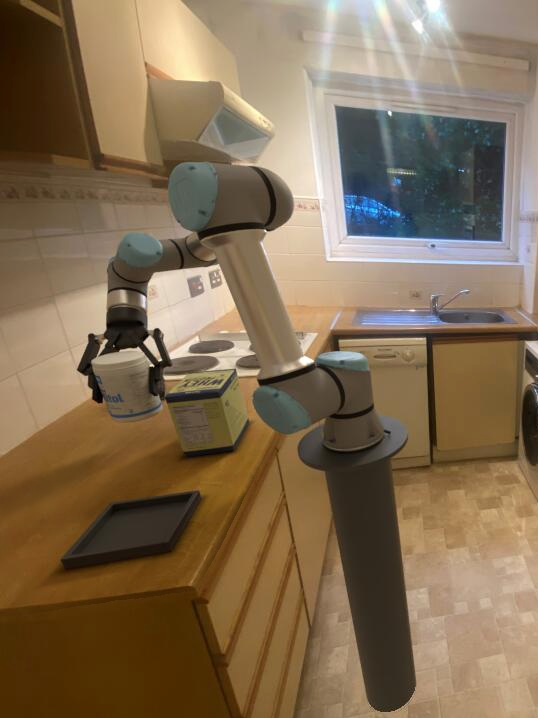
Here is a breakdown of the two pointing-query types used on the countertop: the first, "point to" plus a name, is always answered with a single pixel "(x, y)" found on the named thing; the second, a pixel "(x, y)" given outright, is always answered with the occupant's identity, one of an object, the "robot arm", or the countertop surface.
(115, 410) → the supplement tub
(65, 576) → the countertop surface
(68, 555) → the pad
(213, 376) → the protein box
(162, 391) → the grey furry lump
